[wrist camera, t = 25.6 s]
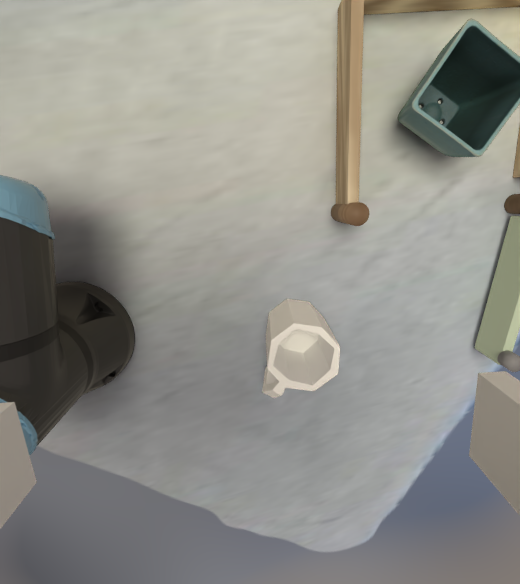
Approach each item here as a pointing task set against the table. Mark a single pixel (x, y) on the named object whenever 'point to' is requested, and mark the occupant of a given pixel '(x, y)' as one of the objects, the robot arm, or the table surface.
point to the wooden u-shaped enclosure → (350, 86)
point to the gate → (503, 304)
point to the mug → (298, 349)
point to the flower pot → (465, 94)
